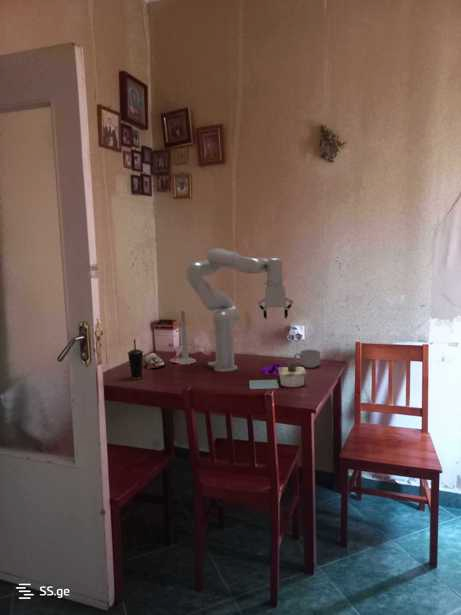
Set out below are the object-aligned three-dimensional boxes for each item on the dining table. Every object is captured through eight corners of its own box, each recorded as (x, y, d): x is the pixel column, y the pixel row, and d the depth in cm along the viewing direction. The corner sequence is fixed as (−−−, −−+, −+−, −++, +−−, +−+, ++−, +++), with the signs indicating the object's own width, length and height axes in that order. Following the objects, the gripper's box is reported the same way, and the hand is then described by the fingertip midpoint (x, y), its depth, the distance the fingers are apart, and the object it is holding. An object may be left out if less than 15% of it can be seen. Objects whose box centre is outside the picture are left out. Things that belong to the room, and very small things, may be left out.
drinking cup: (147, 376, 234) (145, 338, 232) (139, 381, 227) (137, 341, 225) (134, 376, 237) (131, 337, 234) (126, 380, 230) (123, 340, 227)
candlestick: (195, 365, 254) (193, 311, 250) (172, 366, 254) (169, 312, 250) (197, 359, 267) (195, 308, 263) (175, 360, 267) (172, 308, 263)
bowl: (281, 389, 207) (281, 376, 206) (279, 382, 217) (279, 369, 216) (305, 388, 206) (305, 375, 205) (302, 381, 217) (301, 369, 216)
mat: (249, 391, 206) (249, 388, 205) (249, 382, 218) (249, 380, 218) (279, 390, 205) (279, 388, 205) (276, 381, 218) (276, 379, 218)
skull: (166, 361, 261) (164, 350, 254) (165, 377, 255) (163, 366, 247) (145, 361, 261) (142, 351, 253) (143, 377, 254) (140, 367, 247)
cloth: (262, 368, 245) (262, 356, 244) (297, 370, 239) (297, 358, 238) (249, 380, 225) (249, 367, 224) (287, 382, 218) (286, 370, 217)
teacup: (319, 363, 248) (319, 349, 247) (321, 369, 237) (321, 353, 236) (293, 364, 249) (293, 349, 248) (294, 369, 238) (294, 354, 237)
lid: (279, 376, 205) (279, 365, 204) (277, 369, 217) (277, 359, 216) (307, 375, 205) (306, 364, 204) (303, 368, 217) (303, 358, 216)
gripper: (257, 284, 220) (258, 320, 222) (293, 283, 220) (294, 319, 222) (256, 283, 227) (257, 317, 230) (291, 282, 227) (292, 316, 229)
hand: (275, 318), depth 226 cm, fingers open, 9 cm apart
